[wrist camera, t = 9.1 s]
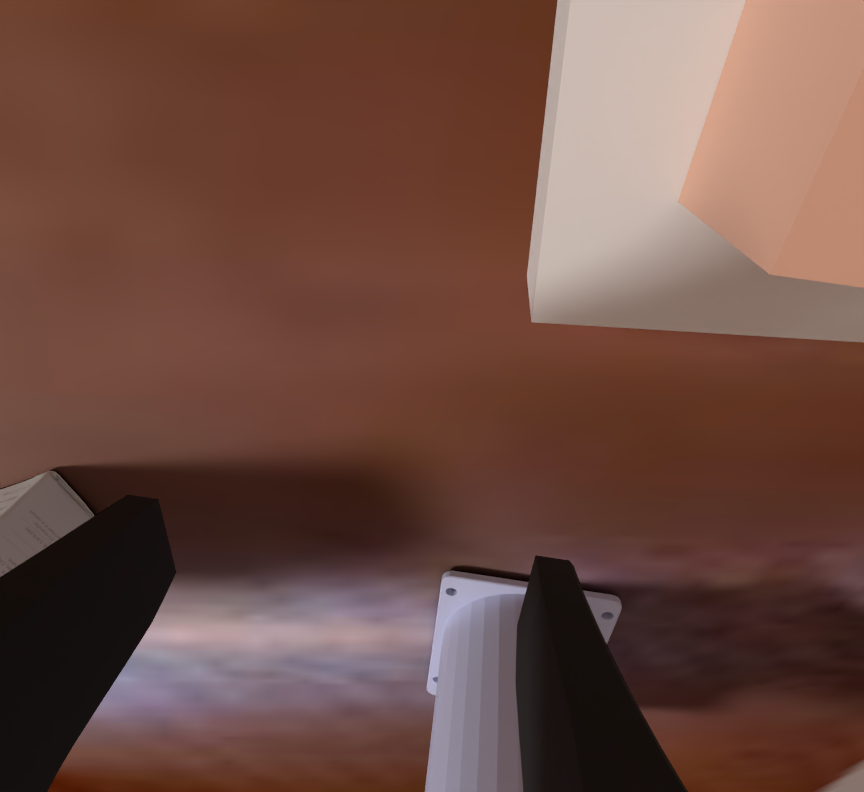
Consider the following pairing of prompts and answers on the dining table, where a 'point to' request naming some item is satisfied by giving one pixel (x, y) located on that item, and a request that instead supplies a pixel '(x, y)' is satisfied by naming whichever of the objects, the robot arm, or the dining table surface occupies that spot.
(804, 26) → the terracotta block
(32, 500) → the skincare box
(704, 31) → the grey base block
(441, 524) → the dining table surface
